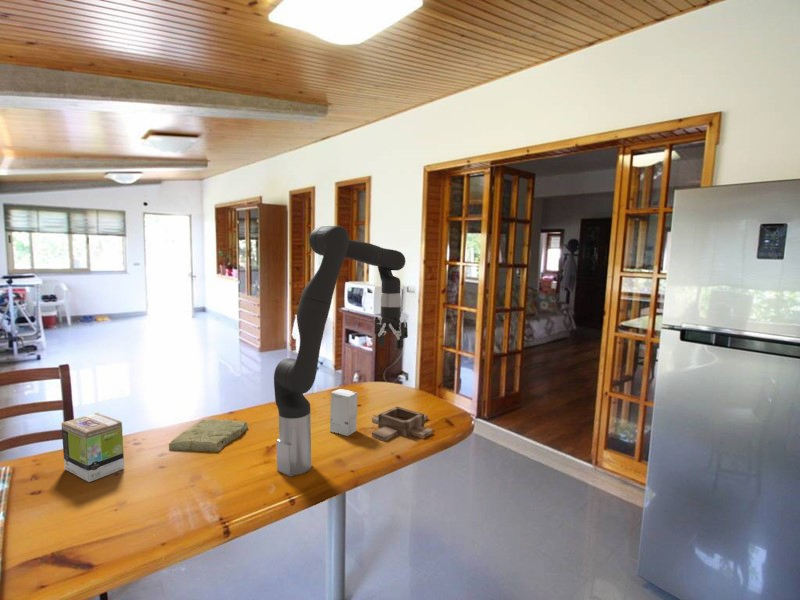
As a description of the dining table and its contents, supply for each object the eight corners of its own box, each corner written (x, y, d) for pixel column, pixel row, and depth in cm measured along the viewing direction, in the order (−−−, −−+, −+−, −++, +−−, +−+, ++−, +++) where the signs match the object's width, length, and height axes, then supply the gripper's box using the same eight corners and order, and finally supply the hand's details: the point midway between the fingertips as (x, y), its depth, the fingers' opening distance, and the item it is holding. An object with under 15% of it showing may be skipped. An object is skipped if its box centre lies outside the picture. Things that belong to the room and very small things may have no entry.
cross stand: (405, 448, 142) (405, 434, 142) (353, 430, 157) (353, 417, 156) (447, 424, 163) (447, 412, 162) (397, 410, 177) (397, 398, 177)
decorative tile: (168, 450, 141) (167, 440, 140) (202, 426, 161) (202, 417, 160) (222, 454, 139) (221, 443, 138) (250, 428, 159) (249, 419, 158)
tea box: (126, 468, 128) (123, 421, 127) (88, 483, 120) (84, 433, 118) (100, 456, 136) (97, 411, 134) (63, 469, 127) (59, 421, 126)
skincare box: (329, 432, 155) (329, 392, 154) (339, 426, 160) (339, 387, 159) (348, 436, 151) (348, 396, 150) (358, 430, 157) (358, 391, 155)
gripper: (369, 304, 161) (369, 346, 163) (399, 307, 152) (399, 352, 154) (382, 302, 167) (382, 343, 168) (412, 305, 158) (411, 348, 160)
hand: (390, 347), depth 161 cm, fingers open, 8 cm apart
